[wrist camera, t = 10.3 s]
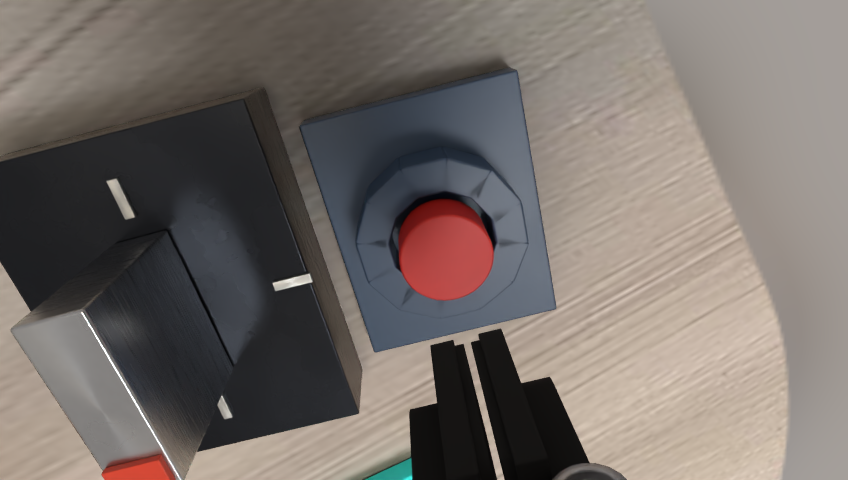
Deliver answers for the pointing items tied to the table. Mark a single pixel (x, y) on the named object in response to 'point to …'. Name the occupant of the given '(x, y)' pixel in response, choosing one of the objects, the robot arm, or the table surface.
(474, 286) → the button
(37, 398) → the table surface
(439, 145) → the button housing
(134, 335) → the tap handle
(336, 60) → the table surface
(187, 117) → the base
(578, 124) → the table surface
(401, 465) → the handheld game console
